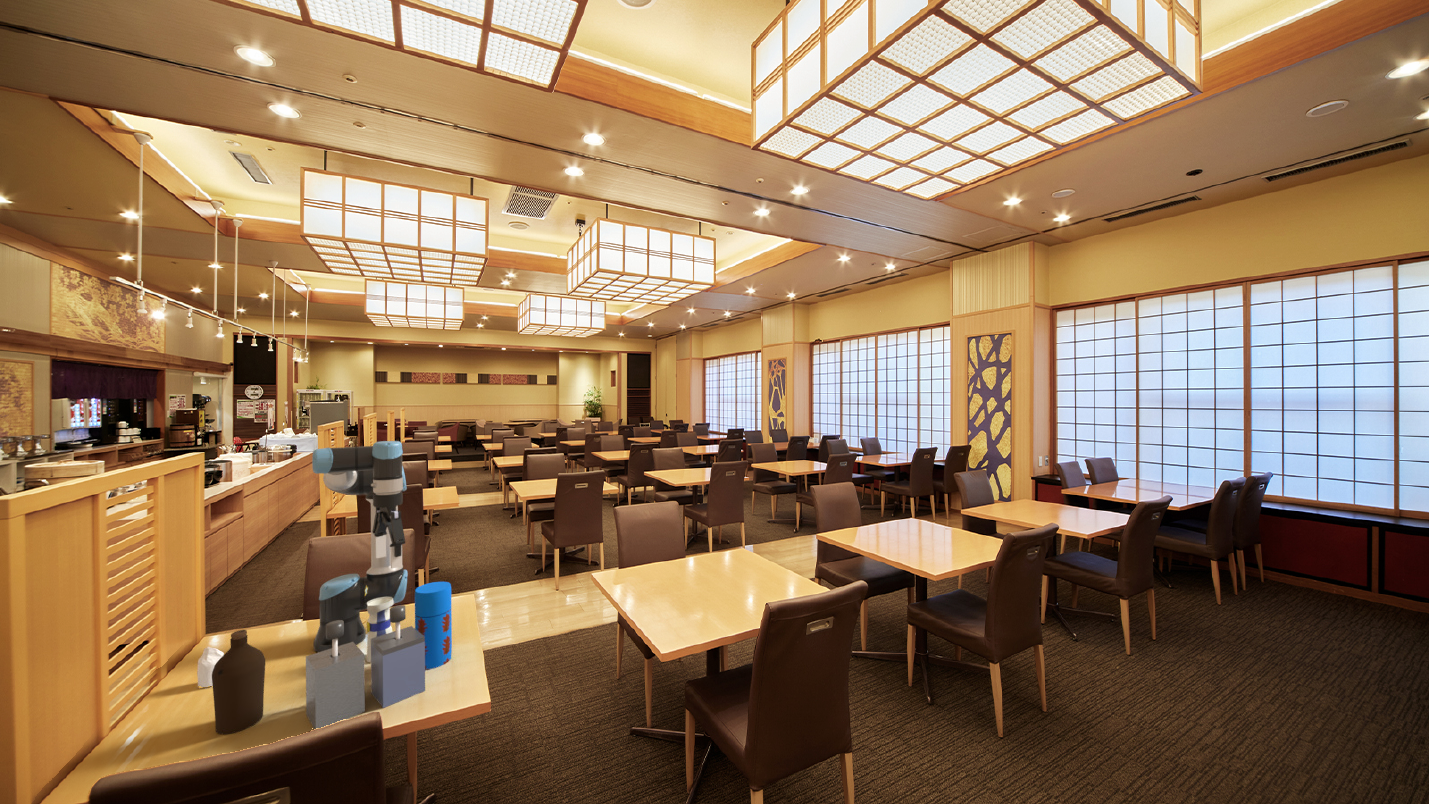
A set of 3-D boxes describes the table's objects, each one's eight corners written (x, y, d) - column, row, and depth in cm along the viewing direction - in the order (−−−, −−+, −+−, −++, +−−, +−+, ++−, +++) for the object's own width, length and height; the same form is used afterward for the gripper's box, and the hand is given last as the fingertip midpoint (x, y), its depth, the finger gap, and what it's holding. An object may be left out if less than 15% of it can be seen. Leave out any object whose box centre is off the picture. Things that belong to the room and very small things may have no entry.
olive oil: (258, 728, 134) (257, 636, 134) (205, 741, 129) (204, 645, 129) (271, 706, 143) (270, 620, 143) (221, 718, 138) (220, 628, 138)
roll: (227, 639, 159) (219, 647, 154) (227, 677, 159) (219, 686, 154) (202, 643, 156) (193, 652, 151) (202, 681, 156) (193, 691, 151)
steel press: (303, 709, 142) (302, 651, 142) (349, 691, 150) (349, 637, 150) (315, 731, 132) (315, 670, 132) (364, 711, 141) (364, 654, 141)
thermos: (435, 671, 162) (434, 594, 161) (407, 667, 164) (406, 592, 164) (459, 654, 172) (458, 582, 172) (432, 651, 174) (431, 580, 174)
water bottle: (367, 666, 165) (366, 591, 165) (363, 656, 171) (363, 584, 171) (396, 657, 170) (395, 585, 170) (391, 648, 177) (391, 578, 176)
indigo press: (367, 688, 152) (366, 634, 152) (407, 673, 161) (406, 622, 160) (383, 708, 142) (382, 650, 142) (425, 690, 151) (424, 636, 151)
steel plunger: (313, 695, 140) (312, 624, 139) (349, 682, 146) (348, 614, 146) (320, 707, 134) (319, 633, 134) (357, 693, 141) (356, 622, 140)
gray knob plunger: (377, 675, 150) (376, 608, 150) (408, 663, 156) (408, 599, 156) (386, 685, 144) (386, 616, 144) (418, 673, 151) (418, 607, 150)
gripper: (360, 489, 156) (360, 556, 156) (388, 500, 140) (389, 575, 140) (387, 485, 161) (388, 550, 162) (417, 496, 146) (418, 567, 146)
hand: (388, 562), depth 151 cm, fingers open, 13 cm apart
